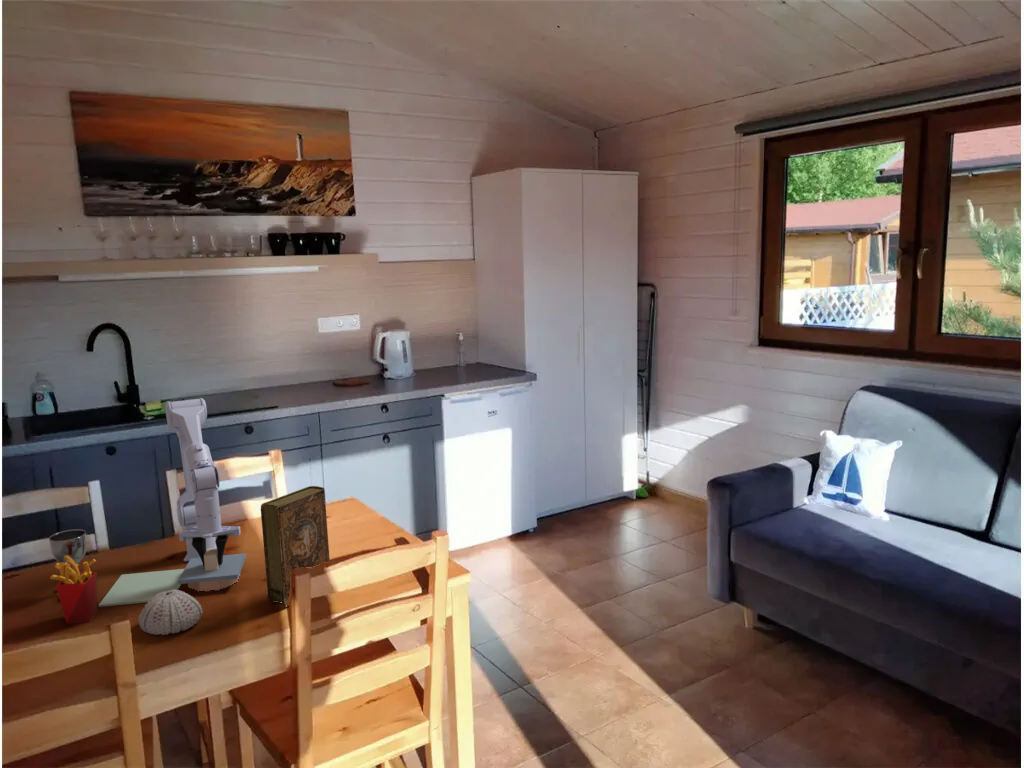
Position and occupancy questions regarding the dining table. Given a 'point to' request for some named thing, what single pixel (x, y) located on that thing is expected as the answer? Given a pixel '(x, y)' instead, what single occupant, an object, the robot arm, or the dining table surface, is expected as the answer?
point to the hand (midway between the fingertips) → (213, 564)
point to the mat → (141, 587)
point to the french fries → (77, 591)
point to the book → (293, 537)
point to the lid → (212, 568)
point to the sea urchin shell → (170, 613)
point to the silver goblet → (68, 545)
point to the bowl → (212, 584)
